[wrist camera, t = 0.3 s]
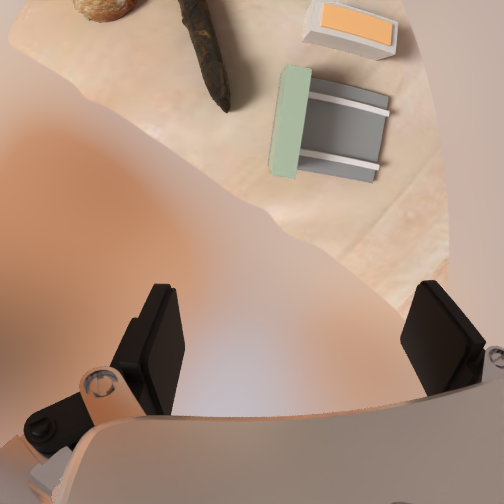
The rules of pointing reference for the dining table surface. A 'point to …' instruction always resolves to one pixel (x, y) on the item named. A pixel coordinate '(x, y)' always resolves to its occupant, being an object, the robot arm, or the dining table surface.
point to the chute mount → (325, 127)
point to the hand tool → (206, 50)
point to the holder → (349, 30)
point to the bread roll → (103, 9)
